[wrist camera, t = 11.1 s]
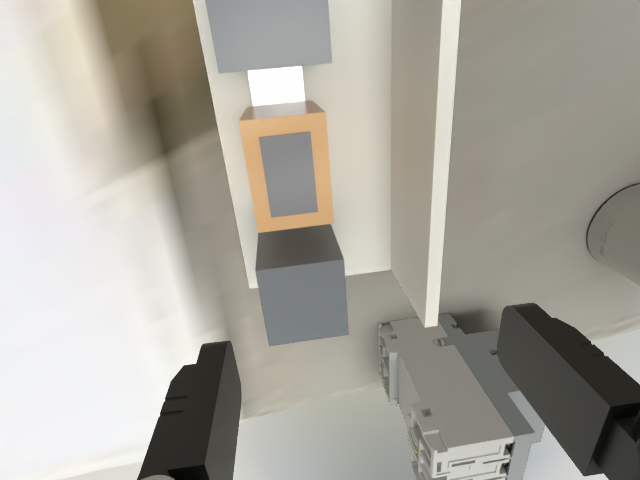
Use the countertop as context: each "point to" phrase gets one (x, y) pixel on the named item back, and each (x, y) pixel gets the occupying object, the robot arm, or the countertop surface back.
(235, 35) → the block
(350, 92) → the panel
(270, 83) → the rail
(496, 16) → the countertop surface
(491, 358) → the circuit breaker
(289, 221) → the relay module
